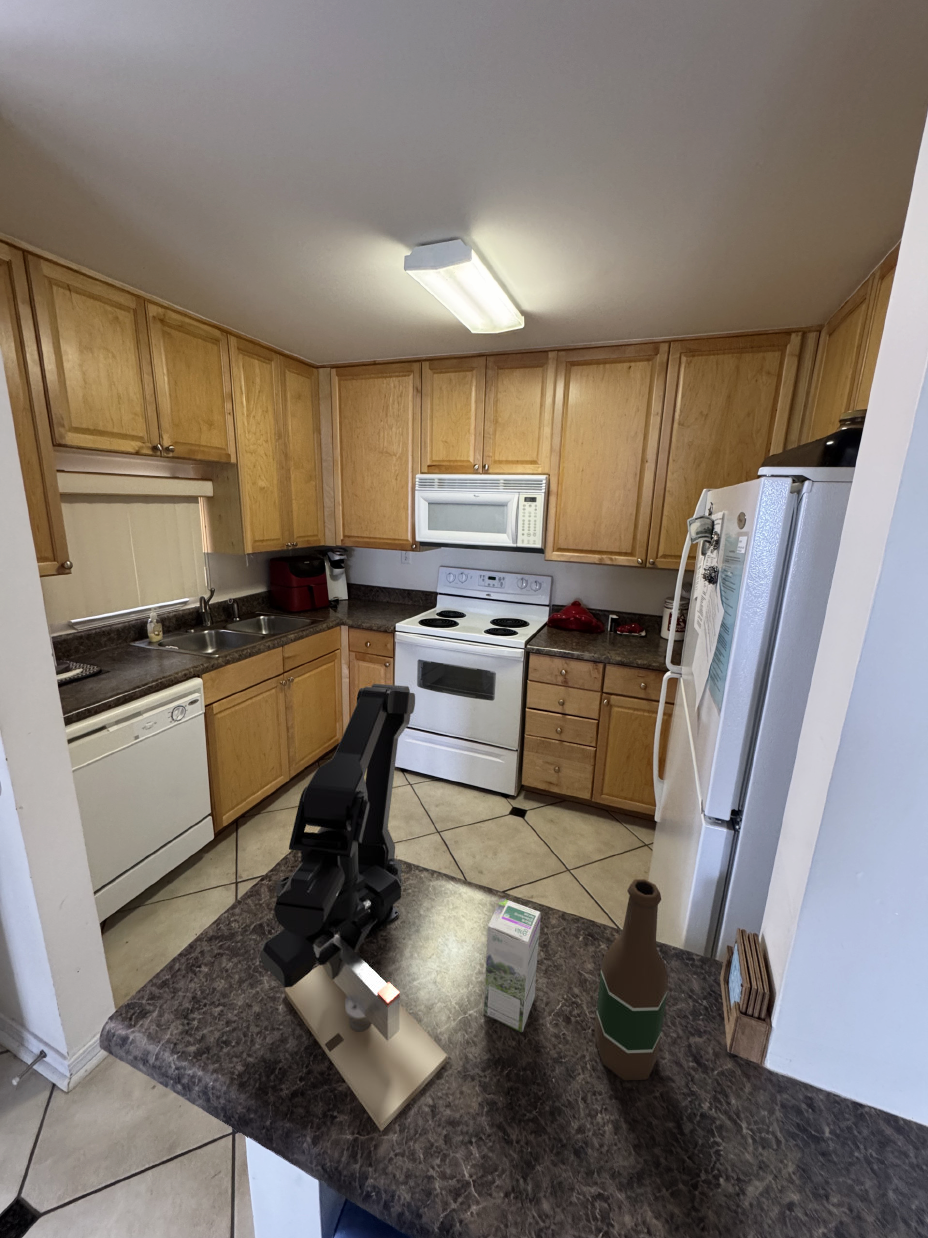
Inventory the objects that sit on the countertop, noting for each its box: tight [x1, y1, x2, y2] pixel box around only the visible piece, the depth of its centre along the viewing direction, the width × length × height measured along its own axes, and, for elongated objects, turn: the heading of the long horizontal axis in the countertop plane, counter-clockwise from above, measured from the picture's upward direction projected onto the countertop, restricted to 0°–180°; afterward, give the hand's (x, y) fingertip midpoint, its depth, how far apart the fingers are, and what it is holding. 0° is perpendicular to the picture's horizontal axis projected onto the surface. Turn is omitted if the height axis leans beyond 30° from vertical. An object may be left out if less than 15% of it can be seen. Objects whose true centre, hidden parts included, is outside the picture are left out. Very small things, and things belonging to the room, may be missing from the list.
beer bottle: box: [593, 878, 669, 1081], centre depth 61 cm, size 8×8×24 cm
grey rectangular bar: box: [333, 933, 401, 1041], centre depth 64 cm, size 4×13×7 cm, turn 48°
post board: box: [284, 964, 448, 1132], centre depth 65 cm, size 10×22×3 cm, turn 46°
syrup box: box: [483, 898, 542, 1033], centre depth 67 cm, size 6×6×14 cm
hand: (338, 971), depth 67 cm, fingers closed
